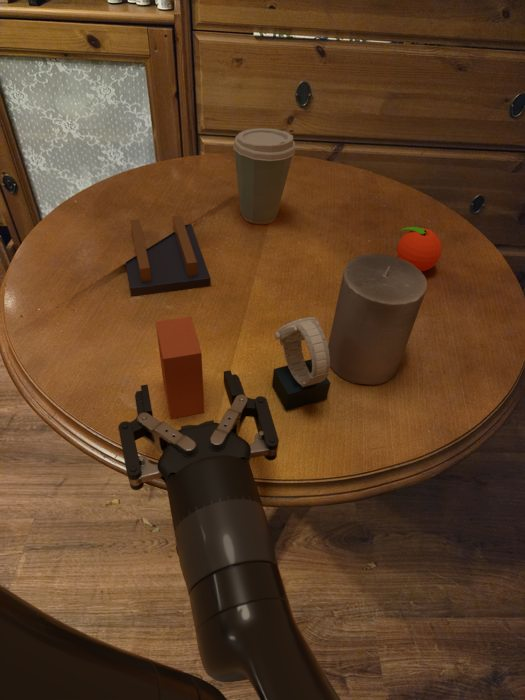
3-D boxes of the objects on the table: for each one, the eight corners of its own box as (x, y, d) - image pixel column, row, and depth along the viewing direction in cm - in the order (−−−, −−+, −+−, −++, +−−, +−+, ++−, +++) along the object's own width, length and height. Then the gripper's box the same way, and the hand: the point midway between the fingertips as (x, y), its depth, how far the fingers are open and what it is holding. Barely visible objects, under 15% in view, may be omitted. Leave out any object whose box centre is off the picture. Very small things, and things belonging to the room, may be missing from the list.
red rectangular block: (204, 412, 59) (201, 352, 52) (170, 419, 58) (163, 359, 51) (195, 376, 63) (191, 316, 56) (163, 381, 62) (155, 321, 55)
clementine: (379, 267, 82) (389, 229, 77) (397, 249, 87) (407, 212, 82) (424, 285, 79) (438, 247, 74) (440, 266, 83) (454, 229, 78)
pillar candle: (358, 326, 71) (380, 235, 61) (413, 364, 66) (448, 272, 56) (310, 355, 67) (326, 262, 56) (366, 399, 62) (395, 305, 51)
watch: (304, 364, 65) (315, 299, 58) (333, 410, 60) (349, 344, 52) (265, 375, 64) (271, 309, 56) (291, 422, 58) (301, 357, 51)
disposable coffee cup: (219, 212, 92) (219, 130, 82) (263, 196, 98) (268, 117, 87) (256, 237, 87) (261, 152, 76) (300, 218, 92) (310, 137, 82)
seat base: (210, 285, 76) (210, 264, 73) (131, 296, 73) (127, 274, 71) (191, 231, 87) (190, 211, 84) (121, 238, 84) (118, 217, 81)
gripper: (308, 484, 40) (254, 346, 50) (125, 527, 36) (109, 369, 47) (298, 527, 45) (251, 393, 56) (138, 568, 41) (121, 418, 52)
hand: (186, 382), depth 51 cm, fingers open, 8 cm apart
